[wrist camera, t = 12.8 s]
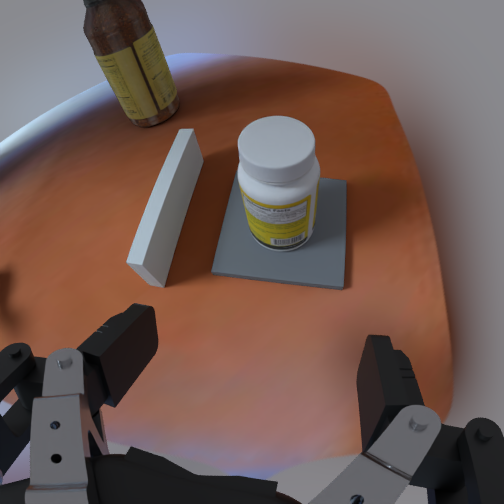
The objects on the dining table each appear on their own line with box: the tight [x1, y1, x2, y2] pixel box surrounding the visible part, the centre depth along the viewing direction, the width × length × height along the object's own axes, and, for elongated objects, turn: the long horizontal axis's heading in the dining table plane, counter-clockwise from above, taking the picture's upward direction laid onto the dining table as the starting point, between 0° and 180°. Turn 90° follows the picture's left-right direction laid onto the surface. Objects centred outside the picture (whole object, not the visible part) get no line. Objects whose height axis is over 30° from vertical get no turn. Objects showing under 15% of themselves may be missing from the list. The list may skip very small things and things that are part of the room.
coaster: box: [211, 171, 346, 290], centre depth 23 cm, size 9×9×1 cm
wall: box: [126, 129, 204, 288], centre depth 23 cm, size 1×12×4 cm, turn 170°
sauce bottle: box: [83, 0, 179, 127], centre depth 23 cm, size 7×6×20 cm
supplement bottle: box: [238, 116, 320, 252], centre depth 19 cm, size 5×5×8 cm
